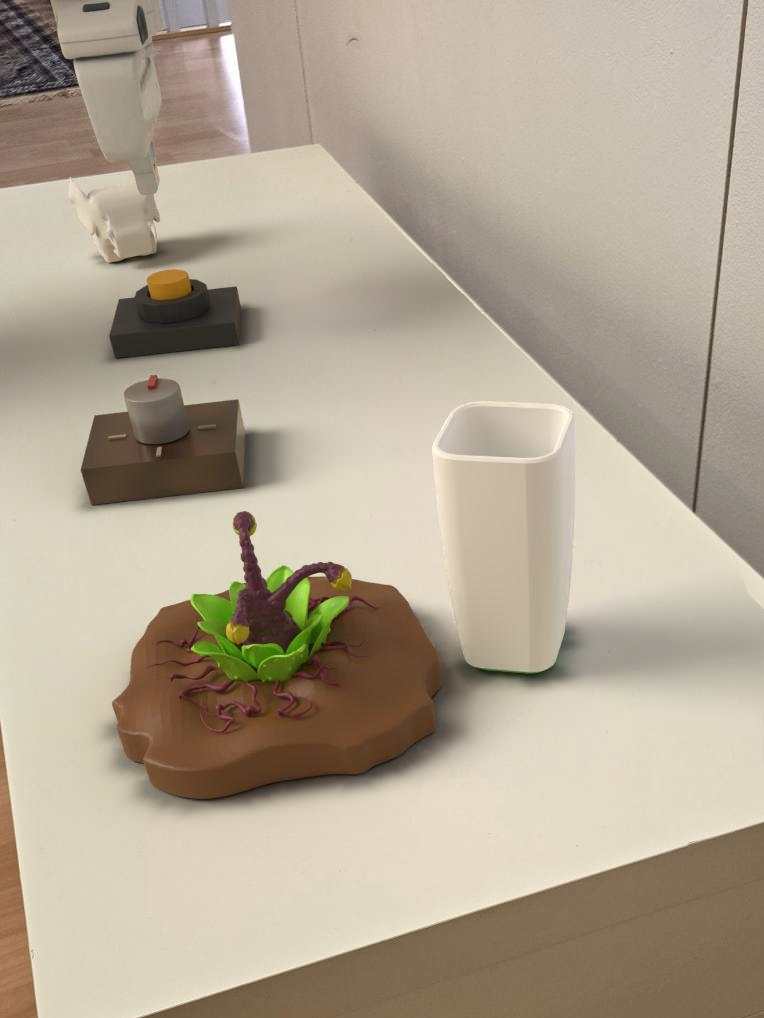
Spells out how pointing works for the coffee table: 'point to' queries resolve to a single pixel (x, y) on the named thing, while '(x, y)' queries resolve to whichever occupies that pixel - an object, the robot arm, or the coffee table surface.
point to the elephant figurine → (118, 219)
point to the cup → (507, 529)
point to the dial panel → (165, 456)
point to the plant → (277, 681)
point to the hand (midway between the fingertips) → (150, 189)
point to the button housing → (176, 321)
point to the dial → (156, 410)
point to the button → (169, 284)
